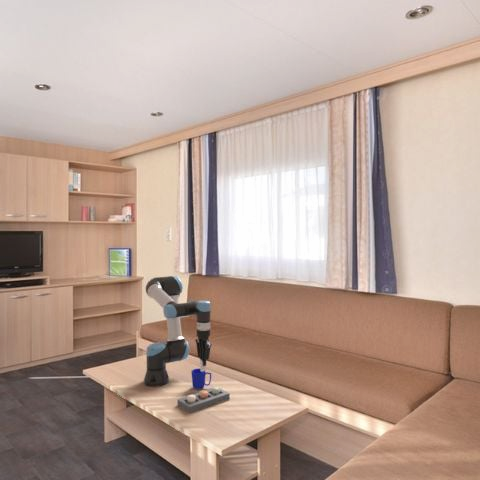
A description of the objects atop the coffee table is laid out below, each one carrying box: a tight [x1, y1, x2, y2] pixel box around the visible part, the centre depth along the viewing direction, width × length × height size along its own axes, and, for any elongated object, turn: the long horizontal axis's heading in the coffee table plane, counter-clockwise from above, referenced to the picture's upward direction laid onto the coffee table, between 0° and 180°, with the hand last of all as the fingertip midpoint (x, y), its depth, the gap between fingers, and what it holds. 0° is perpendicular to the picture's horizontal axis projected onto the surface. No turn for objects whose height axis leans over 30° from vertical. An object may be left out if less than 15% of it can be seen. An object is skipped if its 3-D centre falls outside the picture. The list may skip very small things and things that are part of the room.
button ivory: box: [186, 394, 196, 404], centre depth 207 cm, size 4×4×3 cm
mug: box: [190, 368, 212, 390], centre depth 231 cm, size 8×12×10 cm
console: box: [177, 388, 231, 413], centre depth 212 cm, size 12×26×3 cm, turn 130°
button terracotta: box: [200, 390, 208, 400], centre depth 212 cm, size 4×4×3 cm
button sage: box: [211, 386, 221, 395], centre depth 217 cm, size 4×4×3 cm
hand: (203, 370), depth 217 cm, fingers closed
